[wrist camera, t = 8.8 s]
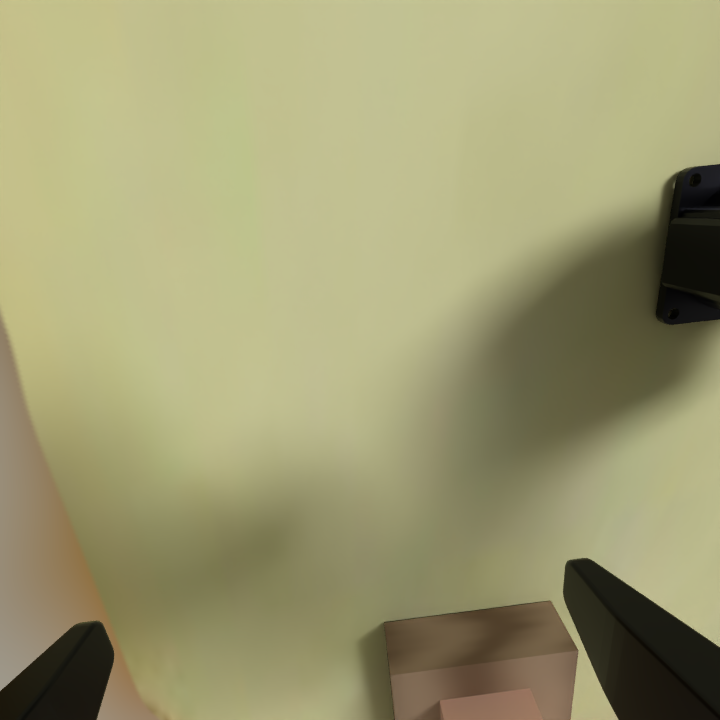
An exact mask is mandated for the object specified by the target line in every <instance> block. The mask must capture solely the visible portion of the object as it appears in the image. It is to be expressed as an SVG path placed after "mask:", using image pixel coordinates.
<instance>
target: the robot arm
mask: <svg viewBox="0 0 720 720" xmlns="http://www.w3.org/2000/svg"><path fill="white" fill-rule="evenodd" d="M691 176H693V179H694V180H693V183H692V184H691V185H689V179H690V177H691ZM671 309H672V314H671V315H670V316H668V313H669V311H670V310H671ZM656 317H657V319H658V320H659V321H660V322H662V323H665V324H669V325H674V324H683V323H691V322H700V321H709V320H718V319H720V164H717V165H708V166H698V167H689V168H686V169H684V170H683V171H681V172H680V173H679V175H678V176H677V179H676V182H675V189H674V195H673V202H672V209H671V216H670V222H669V229H668V236H667V243H666V249H665V256H664V263H663V270H662V277H661V284H660V290H659V297H658V304H657V311H656ZM563 595H564V600H565V603H566V606H567V608H568V610H569V613H570V615H571V617H572V620H573V622H574V624H575V627H576V629H577V631H578V634H579V636H580V638H581V641H582V643H583V645H584V647H585V650H586V652H587V654H588V657H589V659H590V661H591V664H592V666H593V668H594V671H595V673H596V675H597V678H598V680H599V682H600V684H601V686H602V689H603V691H604V693H605V695H606V697H607V699H608V701H609V703H610V705H611V706H612V708H613V710H614V712H615V714H616V716H617V718H618V719H619V720H720V647H719V646H717V645H716V644H714V643H713V642H711V641H710V640H708V639H707V638H705V637H704V636H703V635H701V634H700V633H698V632H697V631H695V630H694V629H692V628H691V627H689V626H688V625H686V624H685V623H683V622H682V621H681V620H679V619H678V618H676V617H675V616H673V615H672V614H670V613H669V612H667V611H666V610H664V609H663V608H661V607H660V606H658V605H657V604H656V603H654V602H653V601H651V600H650V599H648V598H647V597H645V596H644V595H642V594H641V593H639V592H638V591H636V590H635V589H634V588H632V587H631V586H629V585H628V584H626V583H625V582H623V581H622V580H620V579H619V578H617V577H616V576H614V575H613V574H612V573H610V572H609V571H607V570H606V569H604V568H603V567H601V566H600V565H598V564H597V563H595V562H594V561H592V560H590V559H588V558H581V559H573V560H569V561H567V563H566V566H565V575H564V586H563ZM113 662H114V650H113V647H112V645H111V642H110V640H109V637H108V635H107V633H106V630H105V628H104V626H103V624H102V623H101V622H100V621H90V622H82V623H78V624H76V625H74V626H73V627H72V628H70V629H69V630H68V631H67V632H66V633H65V634H64V635H63V636H61V637H60V638H59V639H58V640H57V641H56V642H55V643H54V644H53V645H51V646H50V647H49V648H48V649H47V650H46V651H45V652H44V653H42V654H41V655H40V656H39V657H38V658H37V659H36V660H35V661H33V662H32V663H31V664H30V665H29V666H28V667H27V668H26V669H25V670H23V671H22V672H21V673H20V674H19V675H18V676H17V677H16V678H15V679H13V680H12V681H11V682H10V683H9V684H8V685H7V686H6V687H4V688H3V689H2V690H1V691H0V720H97V716H98V713H99V710H100V706H101V703H102V700H103V696H104V693H105V690H106V686H107V683H108V680H109V676H110V673H111V669H112V666H113Z"/></svg>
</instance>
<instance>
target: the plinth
mask: <svg viewBox="0 0 720 720" xmlns="http://www.w3.org/2000/svg"><path fill="white" fill-rule="evenodd" d="M384 626H385V636H386V645H387V654H388V663H389V673H390V682H391V691H392V700H393V710H394V719H395V720H441V716H440V700H447V699H454V698H462V697H469V696H476V695H484V694H491V693H499V692H506V691H513V690H521V689H528V688H530V689H531V692H532V694H533V697H534V699H535V702H536V704H537V706H538V709H539V711H540V714H541V716H542V718H543V720H570V719H571V710H572V701H573V693H574V684H575V675H576V666H577V658H578V649H577V647H576V645H575V644H574V642H573V640H572V638H571V636H570V635H569V633H568V631H567V629H566V627H565V626H564V624H563V622H562V620H561V618H560V617H559V615H558V613H557V611H556V609H555V608H554V606H553V604H552V602H551V601H547V602H539V603H531V604H524V605H516V606H508V607H500V608H493V609H485V610H477V611H470V612H462V613H454V614H447V615H439V616H431V617H424V618H416V619H408V620H401V621H393V622H385V623H384Z"/></svg>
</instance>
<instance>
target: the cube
mask: <svg viewBox="0 0 720 720" xmlns="http://www.w3.org/2000/svg"><path fill="white" fill-rule="evenodd" d="M440 716H441V720H543V718H542V716H541V714H540V711H539V709H538V706H537V704H536V702H535V699H534V697H533V694H532V692H531V689H530V688H528V689H521V690H513V691H506V692H499V693H491V694H484V695H476V696H469V697H462V698H454V699H447V700H440Z"/></svg>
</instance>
